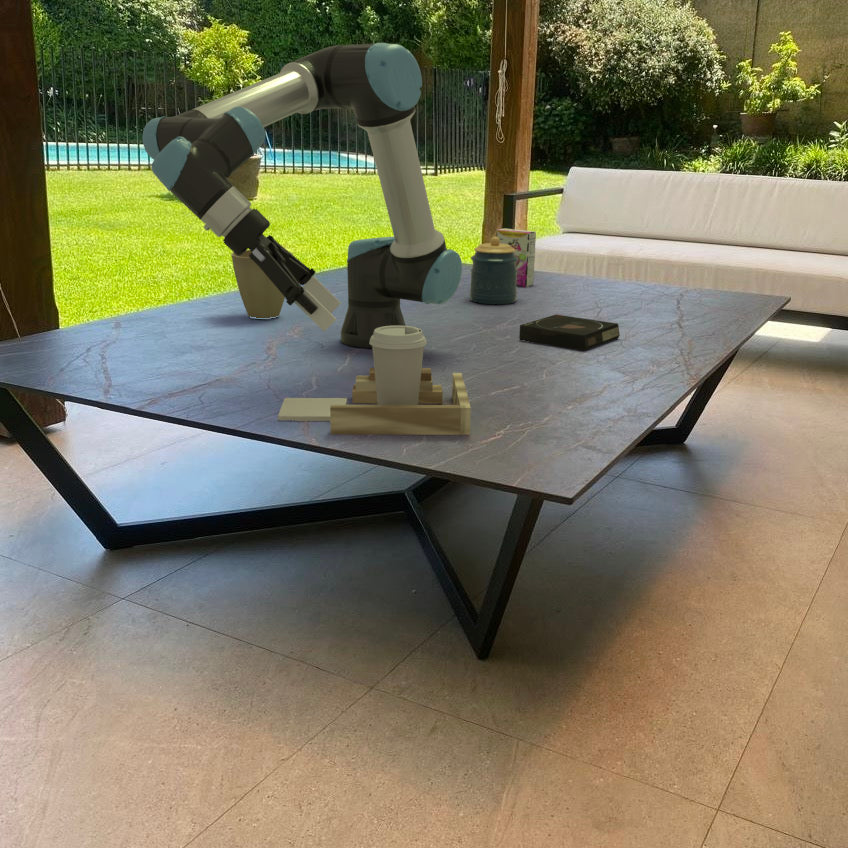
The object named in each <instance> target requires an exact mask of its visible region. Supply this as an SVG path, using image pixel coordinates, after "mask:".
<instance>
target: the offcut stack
mask: <svg viewBox="0 0 848 848" xmlns="http://www.w3.org/2000/svg"><path fill="white" fill-rule="evenodd" d="M368 371H369V374H368V375H356V377H355V384H353V385H352V390H351V391H352V394H351V395H352V396H351V397H352V398H351V399H352V400H351V401H352V404H378V403H377V392H376V380H375V369H374V367H369V370H368ZM433 383H434V382H433V376H432V368H431V367H425V368H424V367H422V369H421V379H420V389H419V399H418V405H443V396H444V395H443V387H442V386H443V385H442V384H433Z"/></svg>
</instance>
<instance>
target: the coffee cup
mask: <svg viewBox="0 0 848 848" xmlns="http://www.w3.org/2000/svg"><path fill="white" fill-rule="evenodd" d="M369 343H370V345H372V348H371V349H372V356H373V366H374V367H373V368H374V369H375V380H376V392H377V403H376V404H377V405H419V404H418V399H419V389H420V379H421V369H422V368H423V357H424V349H425V346H426V345H427V343H428V342H427V338H426V337H425V335H424V333H423V330H422V329H421V328H420V327H419V328H418V327H415V326H410V325H406V326H398V325H396V326H383V327H379V328H376V329H375V330H374V334H373V335H372V336H371V338H370V342H369Z"/></svg>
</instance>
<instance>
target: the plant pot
mask: <svg viewBox="0 0 848 848" xmlns="http://www.w3.org/2000/svg"><path fill="white" fill-rule="evenodd" d="M251 253H252V252H251V251H250V249H247V250H246V251H245V252H244V253H243V254H242V255H240V256H237V255H236V254H235V253H234V252H233V251H232V253H231V254H230V255H231V261H232V267H233V271H234V272H233V273H234V277H235V281H236V284H237V288H238V291H239V294H240V297H241V301H242V303H243V306H244V308H245V312H246V314H247V316H248V317H249V316H251V317H256V318H270V317H276V316H280V314H281V311H282V308H283V306H284V303H285V300H286V298H285V297H284V295H283V294H282V293H281V292H280V291H279V290H278V288H277V287H276V286H275V285H274V284H273V282H272V281H271V280H270V279H269V278H268V277H267V275H266V274H265V273H264V272H263V271H262V270H261V268H260V267H259V266H258V265H257V264H256V263H255V262H254V261H253V260H252V259H250V257H249V255H250V254H251ZM290 253H291V254H292V255H293V256H294V254H293V252H290Z"/></svg>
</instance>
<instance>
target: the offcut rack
mask: <svg viewBox="0 0 848 848" xmlns="http://www.w3.org/2000/svg"><path fill="white" fill-rule="evenodd" d="M451 382H452V383H451V385H452V387H451V391H452V392H451V397H452V402H453V403H452V404H418V405H378V404H347V405H331V406H330V421H329V422H330V435H394V436H395V435H396V436H397V435H401V436H403V435H405V436H406V435H407V436H410V435H411V436H413V435H414V436H415V435H418V436H419V435H420V436H421V435H422V436H423V435H425V436H428V435H429V436H430V435H434V436H439V435H441V436H442V435H443V436H444V435H448V436H450V435H451V436H455V435H456V436H465V435H467V436H470V435H471V415H472V414H471V411H472V410H471V409H472V407H471V404H470V400H469V397H468V393H467V388H466V385H465V381H464V377H463V374H462V372H452V381H451Z"/></svg>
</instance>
